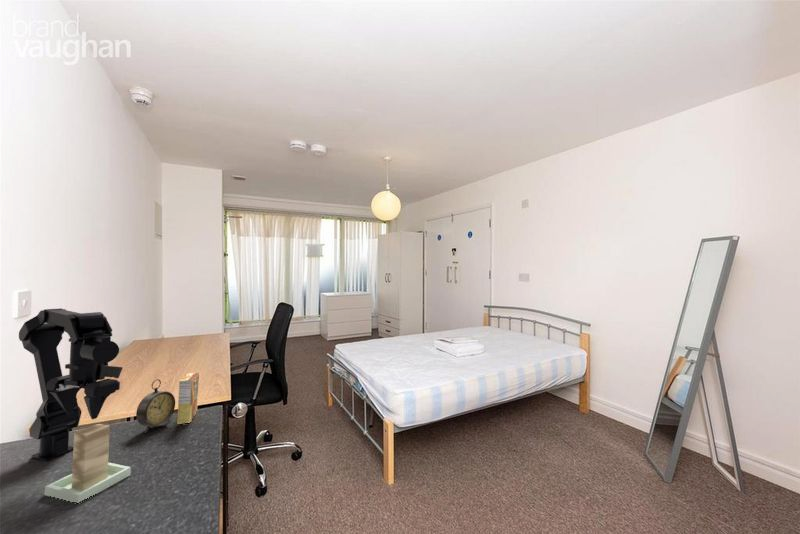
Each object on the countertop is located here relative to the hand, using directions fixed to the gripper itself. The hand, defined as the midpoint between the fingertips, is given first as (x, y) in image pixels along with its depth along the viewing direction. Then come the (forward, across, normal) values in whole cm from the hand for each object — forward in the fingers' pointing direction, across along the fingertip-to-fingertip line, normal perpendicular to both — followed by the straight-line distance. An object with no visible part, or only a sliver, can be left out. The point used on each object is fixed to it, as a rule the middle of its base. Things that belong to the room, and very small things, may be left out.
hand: (82, 416), depth 87 cm
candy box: (+13, -3, -30) cm, 33 cm away
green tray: (+13, -12, +5) cm, 18 cm away
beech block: (+13, -12, +5) cm, 18 cm away
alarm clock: (+13, +2, -22) cm, 26 cm away
